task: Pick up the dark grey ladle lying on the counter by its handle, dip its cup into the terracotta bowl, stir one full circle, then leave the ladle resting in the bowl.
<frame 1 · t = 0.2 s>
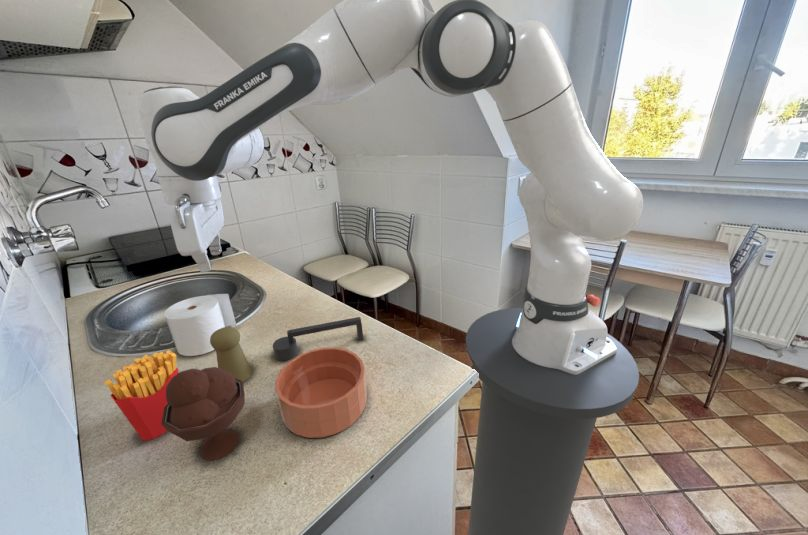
hand: (212, 261, 63), 23 cm above the counter, tool pointing down, fingers open, 8 cm apart
ladle: (286, 353, 73), on the counter
cork: (236, 376, 67), on the counter
ice cream bowl: (220, 445, 52), on the counter
toilet tissue: (205, 341, 78), on the counter
french fries: (166, 423, 56), on the counter
bowl: (325, 403, 59), on the counter
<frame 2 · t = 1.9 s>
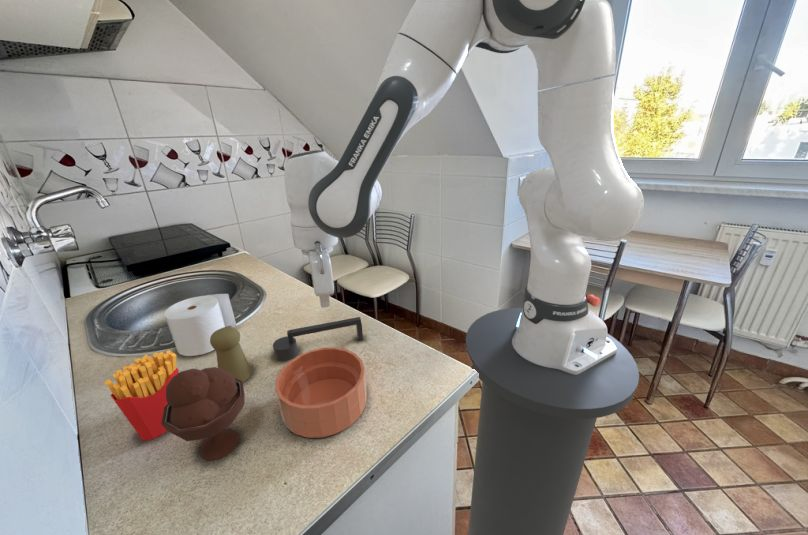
hand: (323, 295, 71), 13 cm above the counter, tool pointing down, fingers open, 8 cm apart
nothing on the counter moved.
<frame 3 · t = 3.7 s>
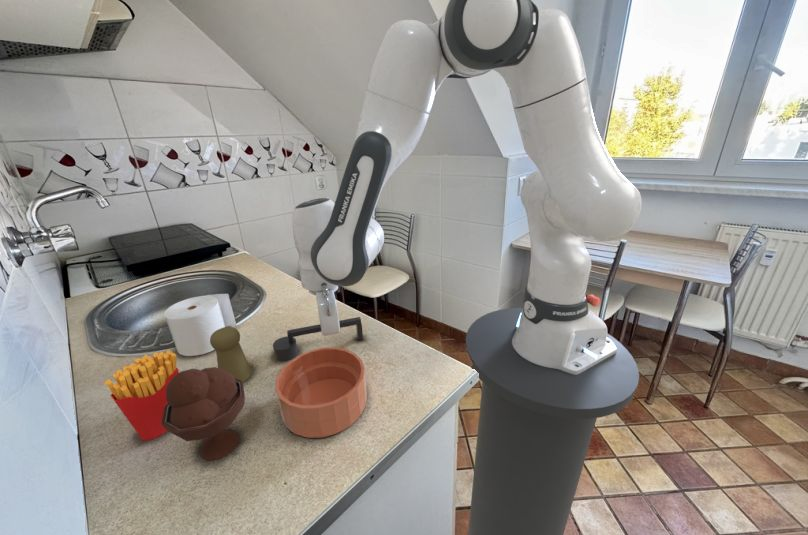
hand: (329, 329, 74), 4 cm above the counter, tool pointing down, fingers closed on ladle
ladle: (286, 353, 73), on the counter, touching gripper
everything else where it was.
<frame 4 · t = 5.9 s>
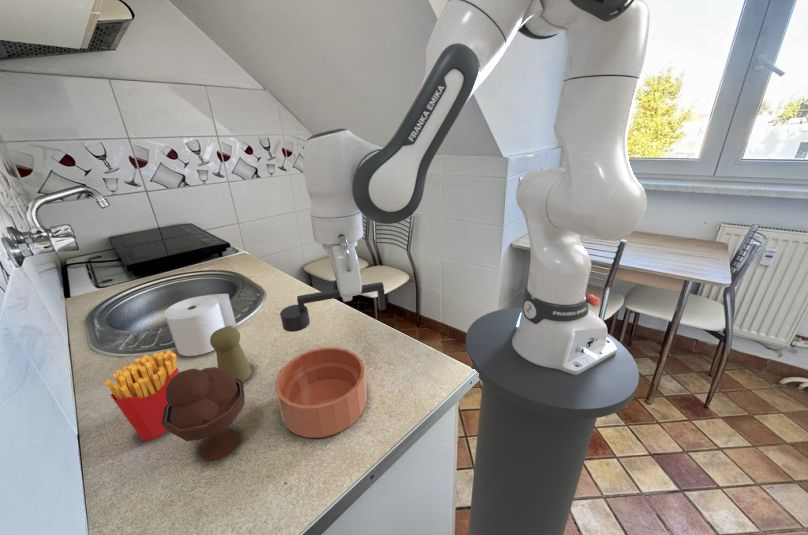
hand: (346, 296, 63), 17 cm above the counter, tool pointing down, fingers closed on ladle
ladle: (296, 324, 62), point 12 cm above the counter, touching gripper
everything else where it was.
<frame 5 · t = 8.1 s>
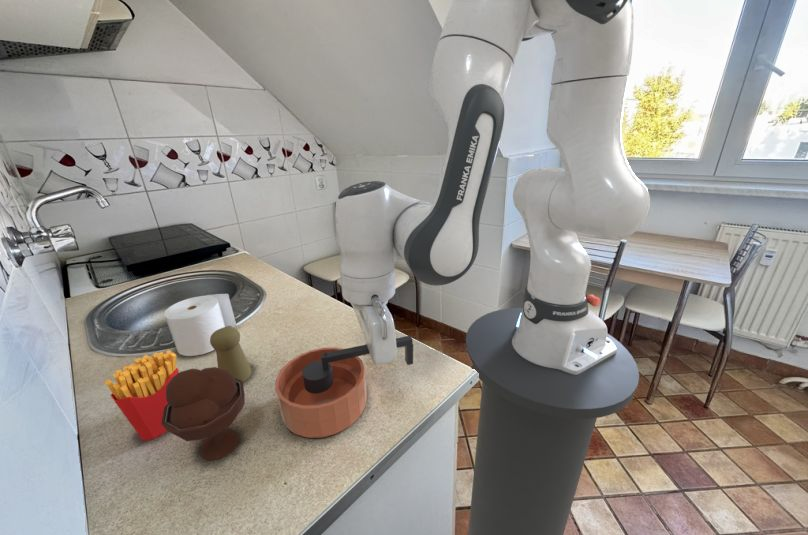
hand: (372, 352, 58), 9 cm above the counter, tool pointing down, fingers closed on ladle
ladle: (319, 383, 57), point 5 cm above the counter, touching gripper
everything else where it was.
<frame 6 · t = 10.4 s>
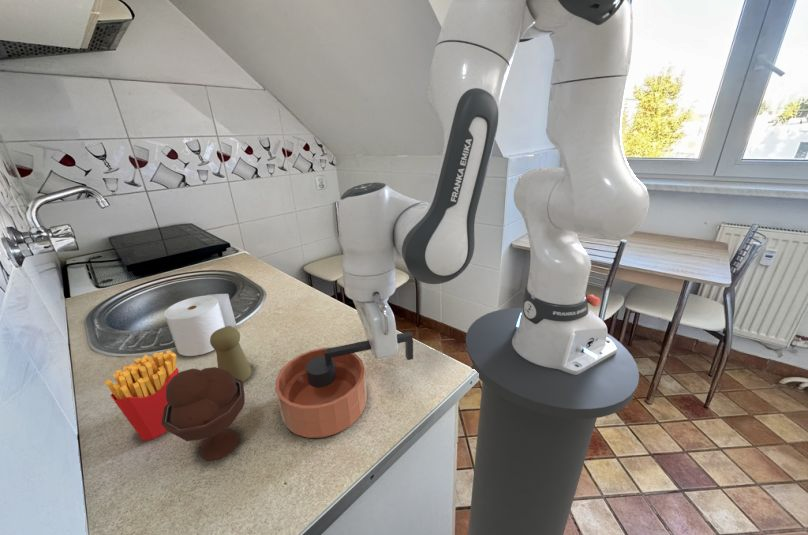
hand: (374, 347, 60), 9 cm above the counter, tool pointing down, fingers closed on ladle
ladle: (322, 377, 59), point 5 cm above the counter, touching gripper
everything else where it was.
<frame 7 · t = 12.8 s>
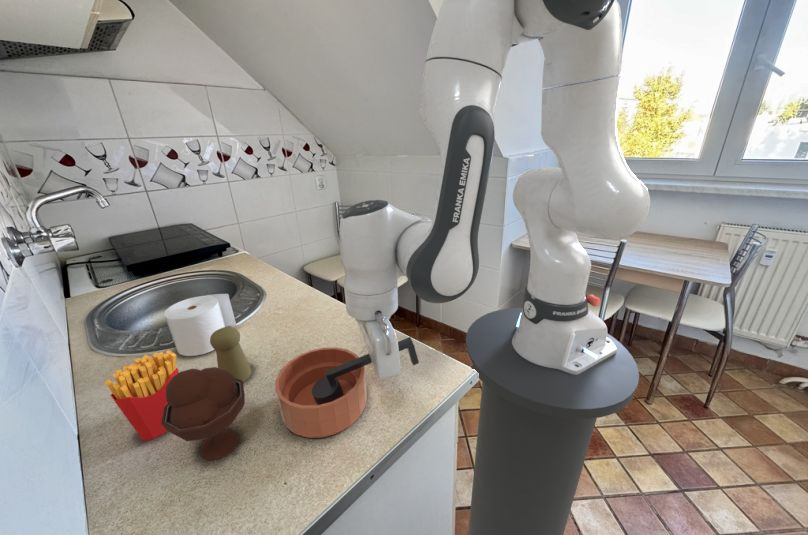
hand: (376, 364, 60), 6 cm above the counter, tool pointing down, fingers open, 3 cm apart
ladle: (330, 398, 59), point 1 cm above the counter, tilted 12°, touching bowl
everything else where it was.
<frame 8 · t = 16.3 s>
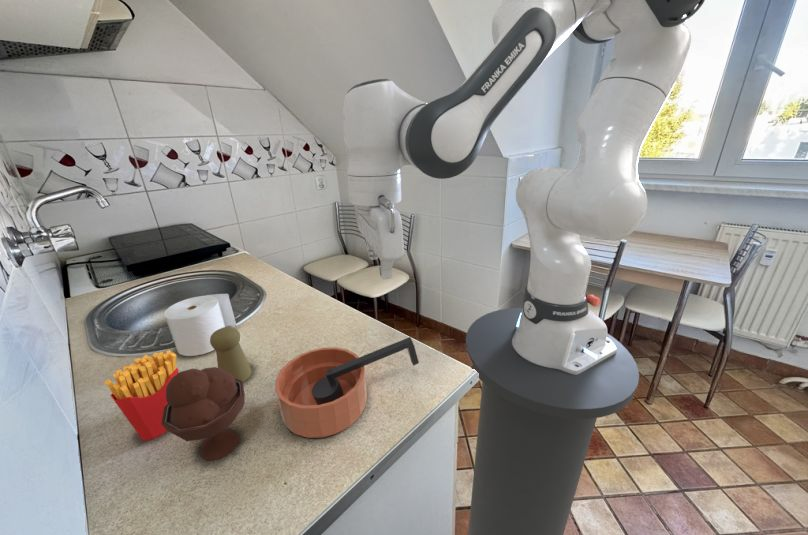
hand: (379, 267, 59), 23 cm above the counter, tool pointing down, fingers open, 8 cm apart
nothing on the counter moved.
at the end: ladle inside the target area in the bowl (1.0 cm from its centre), point 1.1 cm above the bowl's base; the gripper is holding nothing; ladle moved 19.7 cm from its start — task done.
